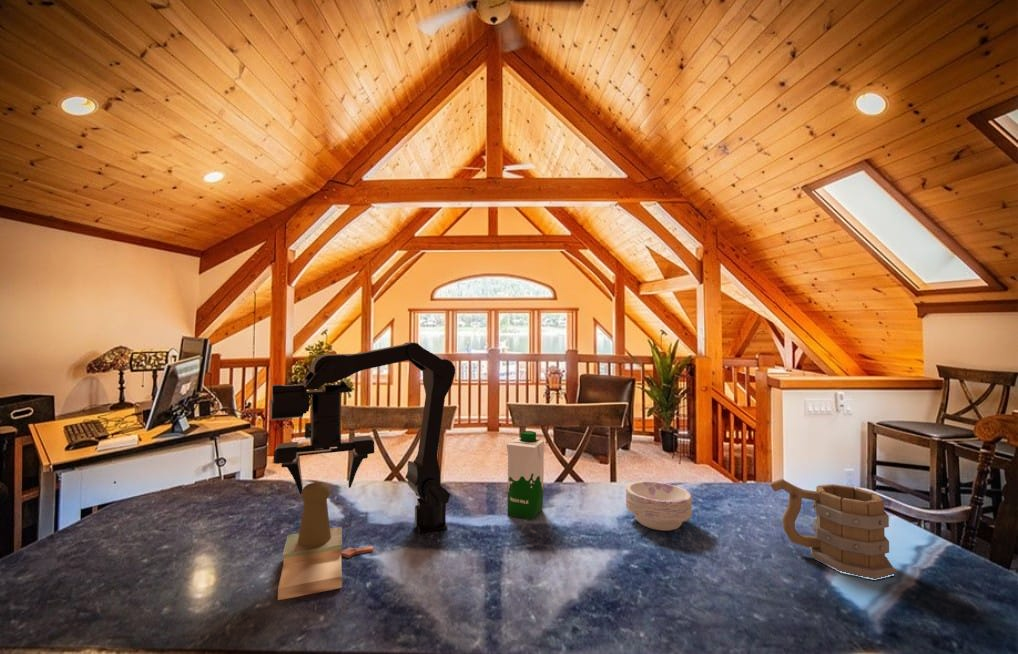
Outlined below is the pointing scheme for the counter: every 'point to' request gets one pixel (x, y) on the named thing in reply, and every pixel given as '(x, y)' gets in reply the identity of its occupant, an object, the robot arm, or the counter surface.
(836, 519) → the tankard
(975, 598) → the counter surface
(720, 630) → the counter surface
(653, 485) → the paper bowls
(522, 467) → the milk carton
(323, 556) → the tan piece
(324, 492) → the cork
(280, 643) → the counter surface
